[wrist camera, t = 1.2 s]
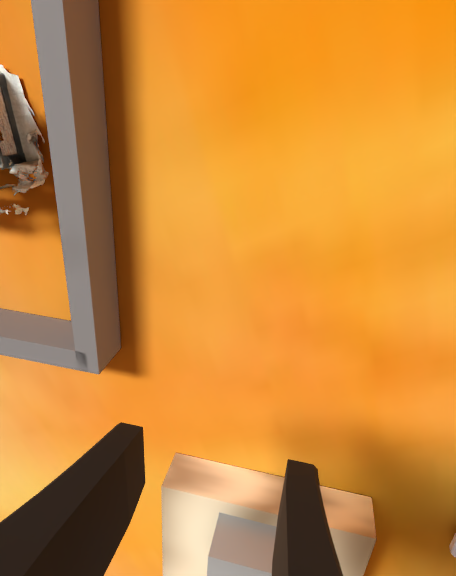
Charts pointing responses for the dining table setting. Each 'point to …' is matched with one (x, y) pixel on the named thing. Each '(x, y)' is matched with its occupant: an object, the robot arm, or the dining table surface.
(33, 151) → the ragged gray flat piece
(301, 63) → the dining table surface
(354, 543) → the board
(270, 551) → the tile slate
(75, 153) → the gray open frame
